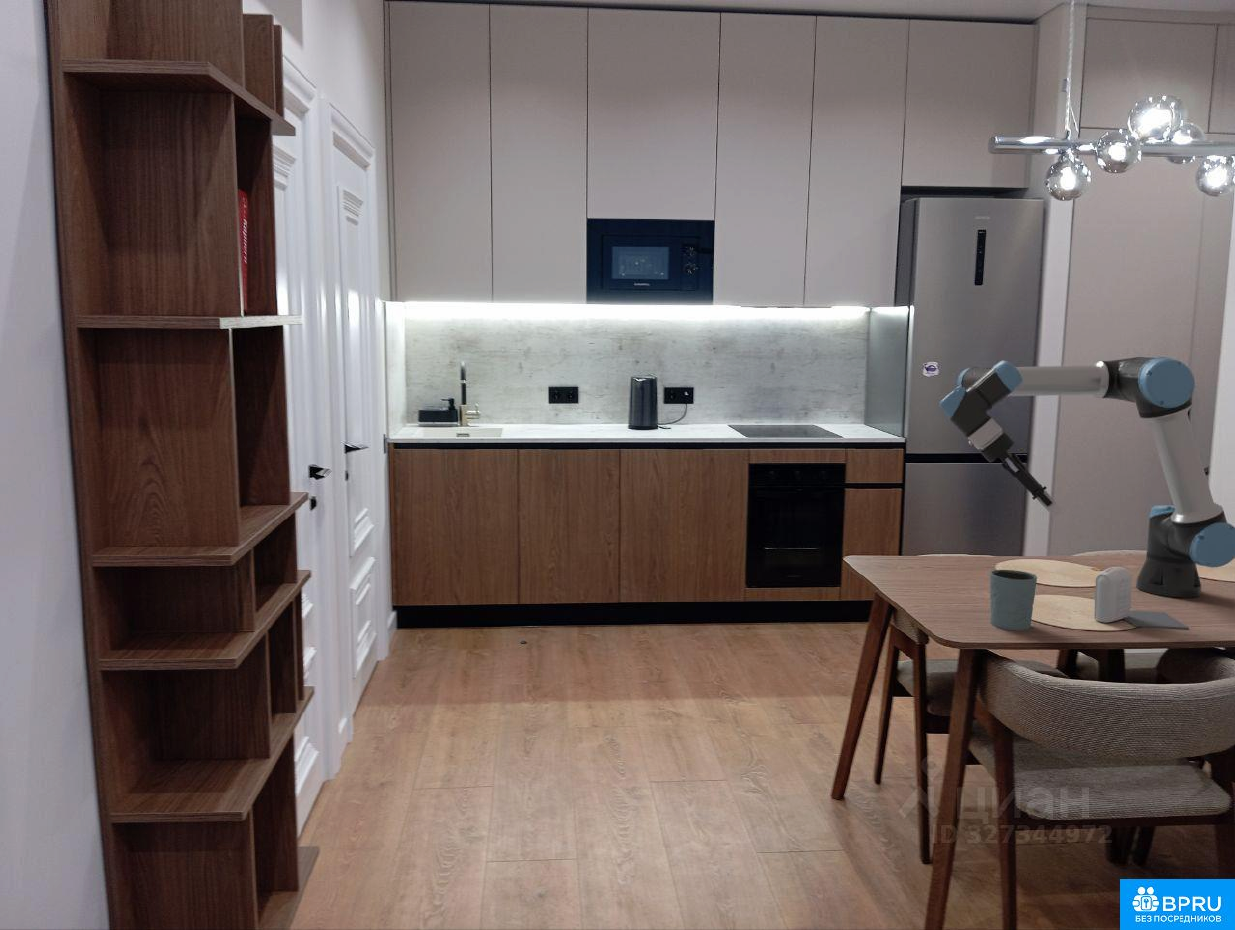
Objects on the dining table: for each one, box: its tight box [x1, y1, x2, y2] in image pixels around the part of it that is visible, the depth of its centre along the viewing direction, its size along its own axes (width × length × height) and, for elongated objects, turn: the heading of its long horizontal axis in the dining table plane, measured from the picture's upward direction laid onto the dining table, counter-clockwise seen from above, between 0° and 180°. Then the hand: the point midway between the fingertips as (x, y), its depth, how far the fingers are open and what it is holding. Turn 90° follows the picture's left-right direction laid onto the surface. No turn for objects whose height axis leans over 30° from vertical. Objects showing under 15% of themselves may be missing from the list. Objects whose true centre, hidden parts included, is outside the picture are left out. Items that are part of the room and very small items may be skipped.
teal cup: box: [989, 569, 1038, 632], centre depth 225 cm, size 10×10×12 cm
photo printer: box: [1093, 566, 1133, 623], centre depth 231 cm, size 10×4×12 cm, turn 123°
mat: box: [1123, 610, 1190, 630], centre depth 233 cm, size 12×13×1 cm
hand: (1059, 514), depth 236 cm, fingers closed
